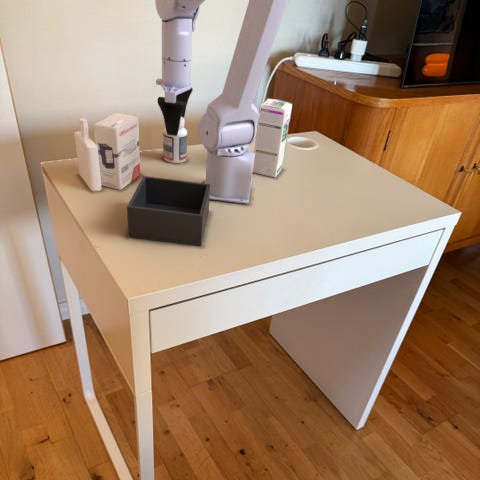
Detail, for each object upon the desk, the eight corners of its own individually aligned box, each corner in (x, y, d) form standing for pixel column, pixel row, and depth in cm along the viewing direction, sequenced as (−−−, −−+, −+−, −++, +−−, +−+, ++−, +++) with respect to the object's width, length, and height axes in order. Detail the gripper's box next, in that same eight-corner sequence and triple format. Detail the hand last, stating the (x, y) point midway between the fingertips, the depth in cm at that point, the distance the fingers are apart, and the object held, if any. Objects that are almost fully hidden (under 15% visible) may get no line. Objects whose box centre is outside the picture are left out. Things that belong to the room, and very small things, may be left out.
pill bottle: (185, 154, 105) (186, 114, 99) (188, 163, 101) (189, 122, 96) (162, 154, 104) (161, 113, 98) (164, 163, 100) (164, 121, 94)
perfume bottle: (102, 190, 88) (96, 126, 80) (92, 191, 87) (85, 127, 79) (88, 173, 92) (81, 111, 85) (79, 174, 91) (71, 112, 84)
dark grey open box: (208, 212, 86) (210, 184, 82) (200, 246, 76) (202, 216, 73) (144, 204, 85) (143, 175, 82) (128, 237, 76) (126, 206, 72)
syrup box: (275, 178, 101) (287, 109, 91) (250, 172, 102) (259, 103, 92) (282, 169, 105) (293, 102, 95) (258, 163, 106) (267, 97, 96)
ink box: (119, 169, 95) (115, 110, 88) (141, 174, 95) (139, 116, 87) (98, 185, 89) (92, 123, 81) (121, 190, 88) (117, 128, 81)
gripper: (162, 47, 95) (162, 115, 104) (148, 63, 84) (150, 137, 93) (196, 52, 95) (193, 119, 104) (186, 68, 84) (184, 142, 93)
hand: (175, 128), depth 98 cm, fingers open, 7 cm apart
